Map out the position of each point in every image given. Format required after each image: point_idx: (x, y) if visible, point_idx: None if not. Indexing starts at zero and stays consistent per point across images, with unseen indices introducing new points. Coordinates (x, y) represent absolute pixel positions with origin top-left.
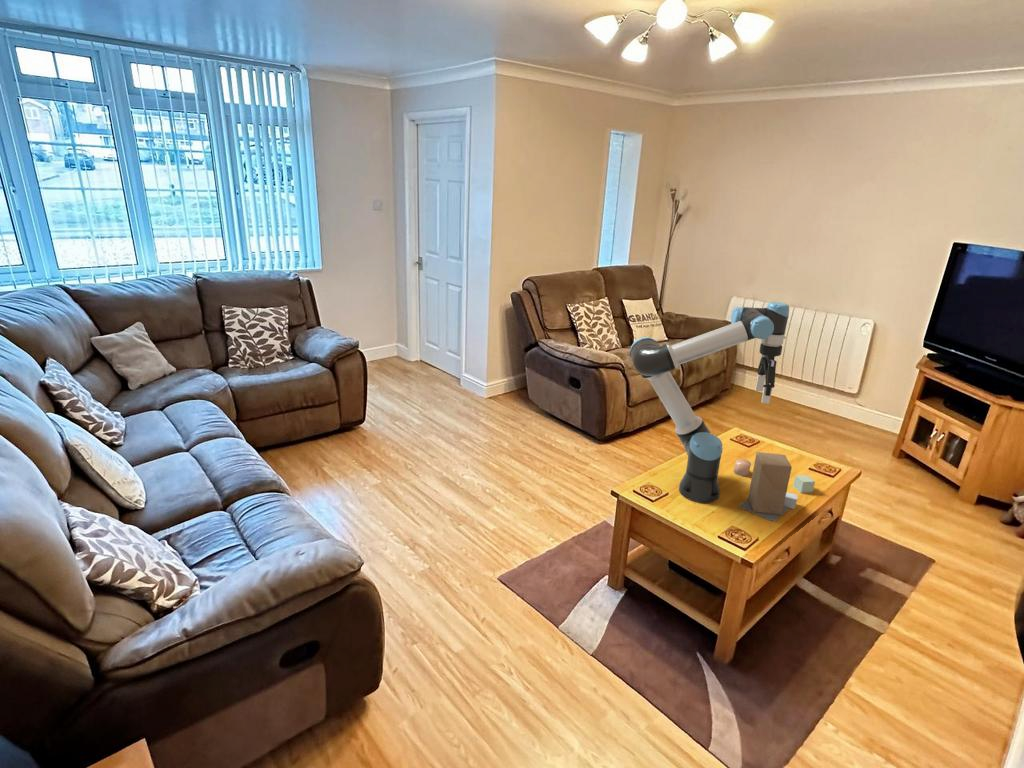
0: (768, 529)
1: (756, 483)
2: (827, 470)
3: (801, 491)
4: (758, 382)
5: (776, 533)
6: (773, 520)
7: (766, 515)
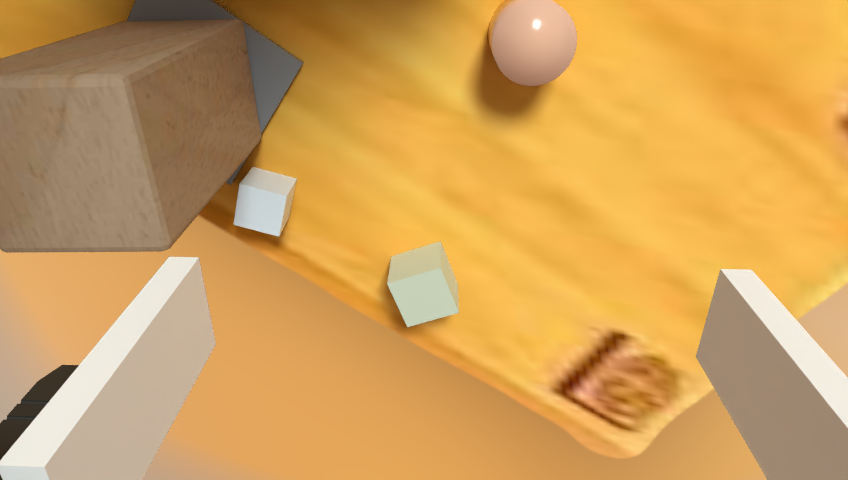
0: None
1: (70, 44)
2: (612, 389)
3: (391, 260)
4: (791, 387)
5: None
6: None
7: None
